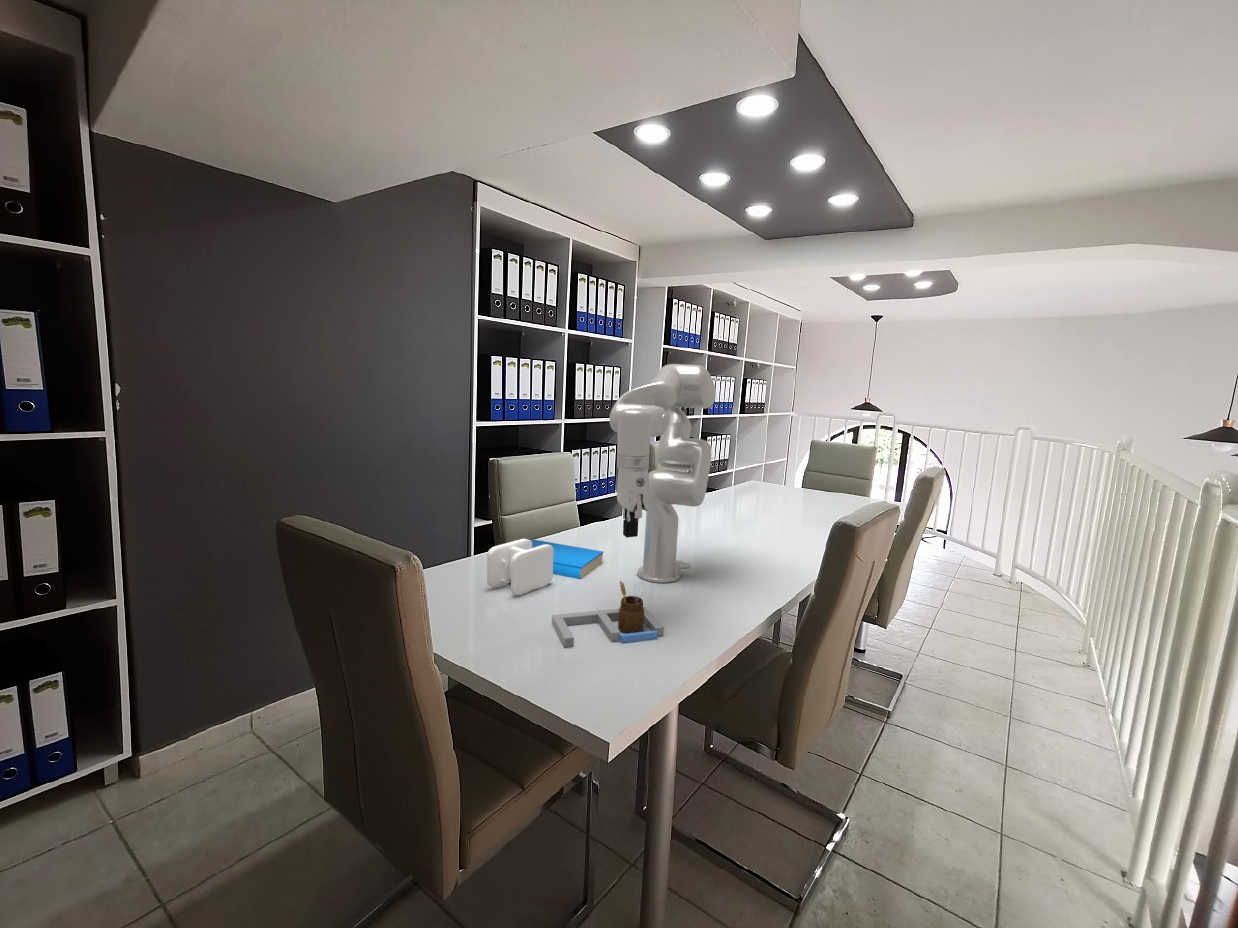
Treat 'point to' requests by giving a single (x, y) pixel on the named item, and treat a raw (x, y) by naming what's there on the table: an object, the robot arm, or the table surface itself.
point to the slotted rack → (604, 626)
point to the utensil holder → (631, 612)
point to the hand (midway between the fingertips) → (630, 535)
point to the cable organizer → (520, 566)
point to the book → (572, 559)
